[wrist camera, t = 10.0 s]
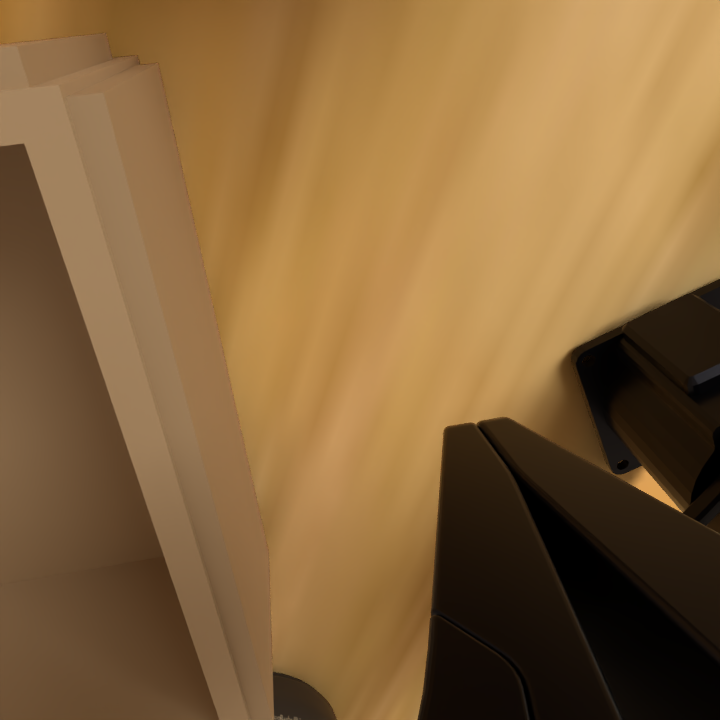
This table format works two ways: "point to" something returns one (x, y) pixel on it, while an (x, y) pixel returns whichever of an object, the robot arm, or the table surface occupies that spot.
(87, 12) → the table surface
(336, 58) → the table surface
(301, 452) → the table surface
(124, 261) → the shipping carton
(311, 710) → the jar
